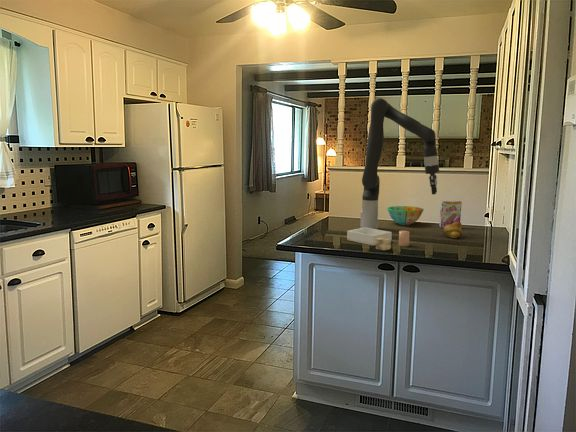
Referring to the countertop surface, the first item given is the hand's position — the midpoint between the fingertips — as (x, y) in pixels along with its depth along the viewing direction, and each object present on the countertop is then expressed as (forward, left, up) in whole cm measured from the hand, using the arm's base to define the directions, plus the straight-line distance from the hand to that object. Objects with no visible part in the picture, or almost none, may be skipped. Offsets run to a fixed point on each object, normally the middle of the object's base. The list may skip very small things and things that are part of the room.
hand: (434, 193), depth 258 cm
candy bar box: (-1, +21, -23) cm, 31 cm away
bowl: (-26, +11, -23) cm, 36 cm away
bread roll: (+14, -2, -23) cm, 27 cm away
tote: (-10, -44, -22) cm, 51 cm away
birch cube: (+6, -53, -23) cm, 58 cm away
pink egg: (+8, -39, -22) cm, 46 cm away
